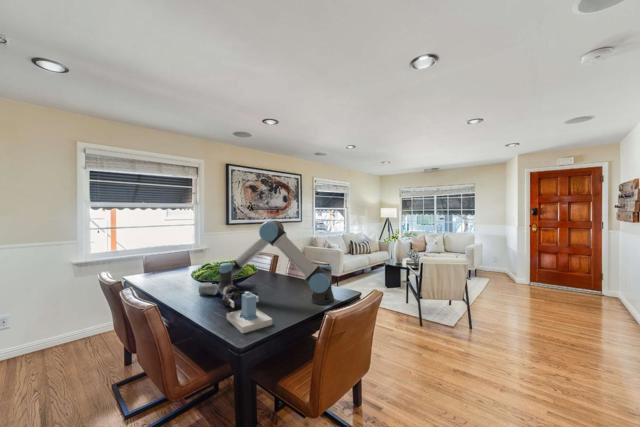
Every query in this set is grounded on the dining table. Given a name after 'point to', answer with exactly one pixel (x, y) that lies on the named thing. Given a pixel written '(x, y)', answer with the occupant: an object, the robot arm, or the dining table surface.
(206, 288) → the spool
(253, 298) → the servo
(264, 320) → the frame
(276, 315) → the dining table surface
